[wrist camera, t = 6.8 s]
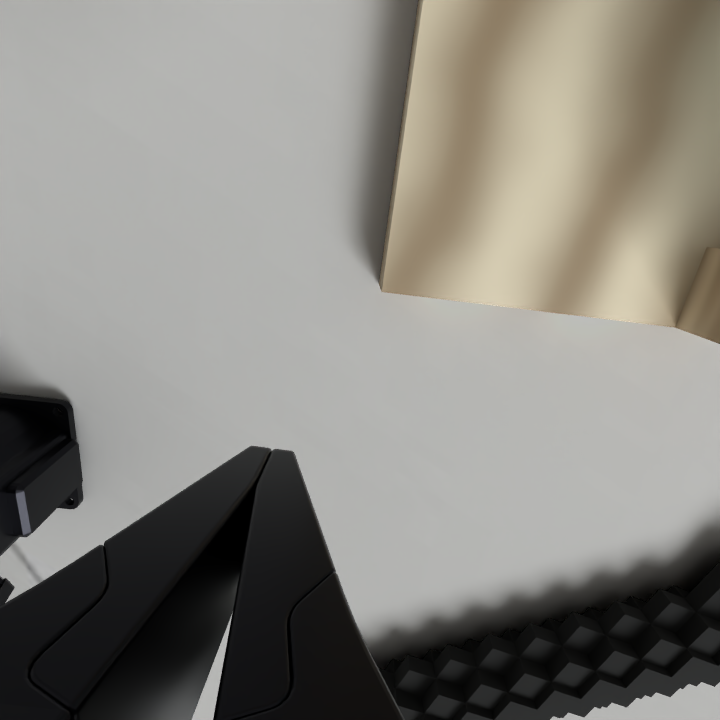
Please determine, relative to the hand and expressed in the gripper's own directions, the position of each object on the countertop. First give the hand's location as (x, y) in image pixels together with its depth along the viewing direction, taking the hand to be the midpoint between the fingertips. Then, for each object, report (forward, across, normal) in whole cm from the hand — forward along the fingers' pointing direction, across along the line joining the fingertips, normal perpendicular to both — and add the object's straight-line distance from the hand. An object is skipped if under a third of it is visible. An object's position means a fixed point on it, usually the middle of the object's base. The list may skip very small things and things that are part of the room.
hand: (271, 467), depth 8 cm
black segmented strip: (+13, -20, +19) cm, 31 cm away
